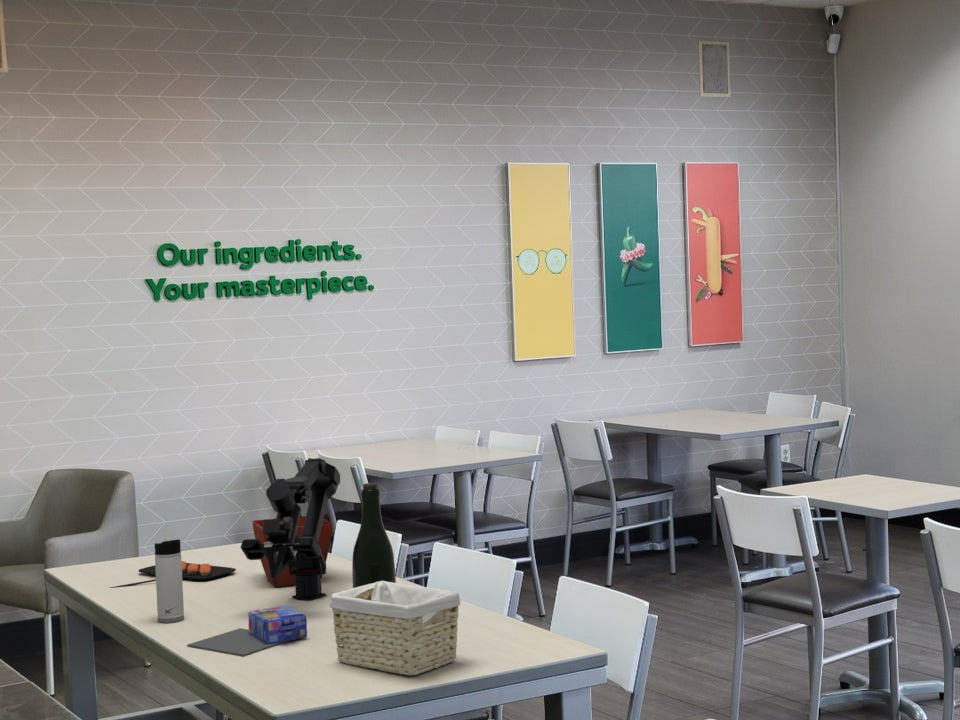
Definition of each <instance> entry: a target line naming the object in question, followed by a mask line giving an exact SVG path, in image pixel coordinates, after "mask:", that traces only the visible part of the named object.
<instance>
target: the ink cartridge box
mask: <svg viewBox="0 0 960 720" xmlns="http://www.w3.org/2000/svg"><path fill="white" fill-rule="evenodd" d="M247 617H248V619H247V620H248V630H249V633H250V634H251V635H253V636H255V637H256V638H258V639H260V640H261V641H263V642H265V643H266V644H271V643H276V642H282V641H287V640H291V641H293V640H299V639H304V638H308V629H307V628H308V627H307V626H308V623H307V621H308V620H307V615H306V614H304V613H302V612H300V611H298V610H297V609H295V608H293V607H291V606H290V605H280V606H275V607H269V608H261V609H253V610H250V611H249V612H248V616H247Z"/></svg>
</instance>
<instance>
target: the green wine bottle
mask: <svg viewBox="0 0 960 720" xmlns="http://www.w3.org/2000/svg"><path fill="white" fill-rule="evenodd" d="M362 487H363V488H362V489H361V493H360V496H361V508H362V509H361V522H360V528H359V531H358V534H357V536H356V540H355V543H354V546H353V551H352V565H351V567H352V570H351V571H352V573H351V574H352V588H356V587H360V586H364V585H367V584H372V583H375V582H378V581H379V582H380V581H386V582H392V583H397V580H396V579H397V578H396V565H395V564H396V563H395V556H394V555H395V554H394V550H393V545H392V543H391V540H390V538H389V536H388V534H387V531H386V529H385V525H384V523H383V518H382V514H381V513H382V512H381V502H380V501H381V500H380V499H381V498H380V496H381V492H380V488H378V483H376V482H368V483H363V485H362ZM367 600H369V599H367Z"/></svg>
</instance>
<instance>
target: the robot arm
mask: <svg viewBox="0 0 960 720" xmlns="http://www.w3.org/2000/svg"><path fill="white" fill-rule="evenodd" d="M340 483H341V473H340V472H339V470H338V469H337V467H336V466H334V465H332V464H330V463H328V462H327V461H326V460H325V459H322V458H308V459H306V460H304V465H302V467H301V468H300V470H299V471H298V472H296V474H295V475H294V476H293V477H289V478H286V479H285V478H277V479H276V482H274V483H272V484H271V485H269V486H268V488H267V489H266V491H265V494H266V495H265V496H266V497H267V500H268V502H269V503H270V505H271V508H272V510H273V512H275V513H276V516H275V518H268V519H269V520H264V519H262V520H263V530H262V533H263V534H264V533H265V534H266V535H267V536H266V539H267V540H268V541H270V542H264V544H261V542H260V541H259V539H255V538H245V539H243V540H242V541H241V545H240V549H241V551H242V552H243V554H244V556H245V558H246V559H247V560H250V561H261V559H262V558H263V557H264V555H265V557H266V558H267V560H268V561H269V565H270V572H271V578H272V579H276V578H277V577H278V576H279V575H280V573H281V572H282V571H283V570H284V569H285V568H286V567H287V566H289V571H290V575H296V581H295V585H294V586H295V587H294V590H295V594H294V595H291V597H292V599H298V600H306V601H312V600H315V599H319V598H321V597H322V598H323V597H325V596H327V593H325V592H322V578H321V575H322V576H323V575H326V574H327V561H326V562H325V560H324V557H323V555H322V551H321V549H320V547H319V544H318V541H319V537H320V532H321V528H322V524H323V519H325V516H326V515H325V514H326V510H327V506H328V502H329V499H330V498H332V497H333V496H334V495H335V494H336V493H337V490H338V486H339V485H340ZM308 501H309V502H308ZM307 502H308V507H307V509H306V510H307V511H306V515H305V516H306V518H305V522H304V526H303V530H302V534H301V537H298V538H295V537H297V536H298V532H297V527H298V522H299V519H301V518H302V508H301V507H300V505H299V504H306V503H307ZM277 554H278V556H277Z"/></svg>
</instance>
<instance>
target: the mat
mask: <svg viewBox="0 0 960 720" xmlns="http://www.w3.org/2000/svg"><path fill="white" fill-rule="evenodd" d="M291 641H292V640H287V641H282V642H276V643H271V644H266V643H265V642H263V641H261V640H260V639H258V638H256V637H255V636H253V635H251V634H250V633H249V628H248V629H247V628H240V627H239V628H236V629H233V630H229V631H226V632H223V633H221V634H217V635H214V636H211V637H207V638H204V639H201V640H197V641H194V642H192V643H188V644H186V647H189V648H195V649H200V650H206V651H210V652H211V651H212V652H217V653H221V654H227V655H233V656H238V657H242V658H243V657H246V656H250V655H252V654H255V653H258V652H261V651H264V650H267V649H270V648H272V647H276V646H279V645H282V644H285V643H288V642H291Z"/></svg>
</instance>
